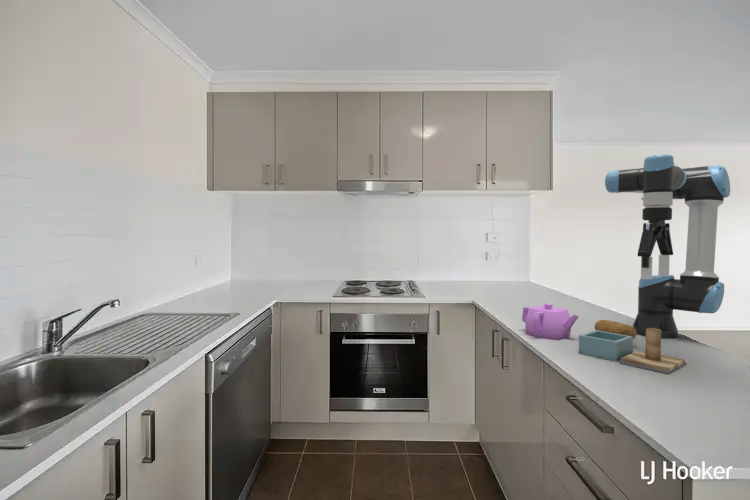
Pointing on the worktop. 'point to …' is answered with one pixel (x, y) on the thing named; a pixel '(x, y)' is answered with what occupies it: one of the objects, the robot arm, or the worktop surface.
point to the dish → (605, 345)
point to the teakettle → (548, 321)
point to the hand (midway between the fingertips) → (655, 277)
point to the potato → (615, 328)
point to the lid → (653, 354)
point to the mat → (650, 367)
